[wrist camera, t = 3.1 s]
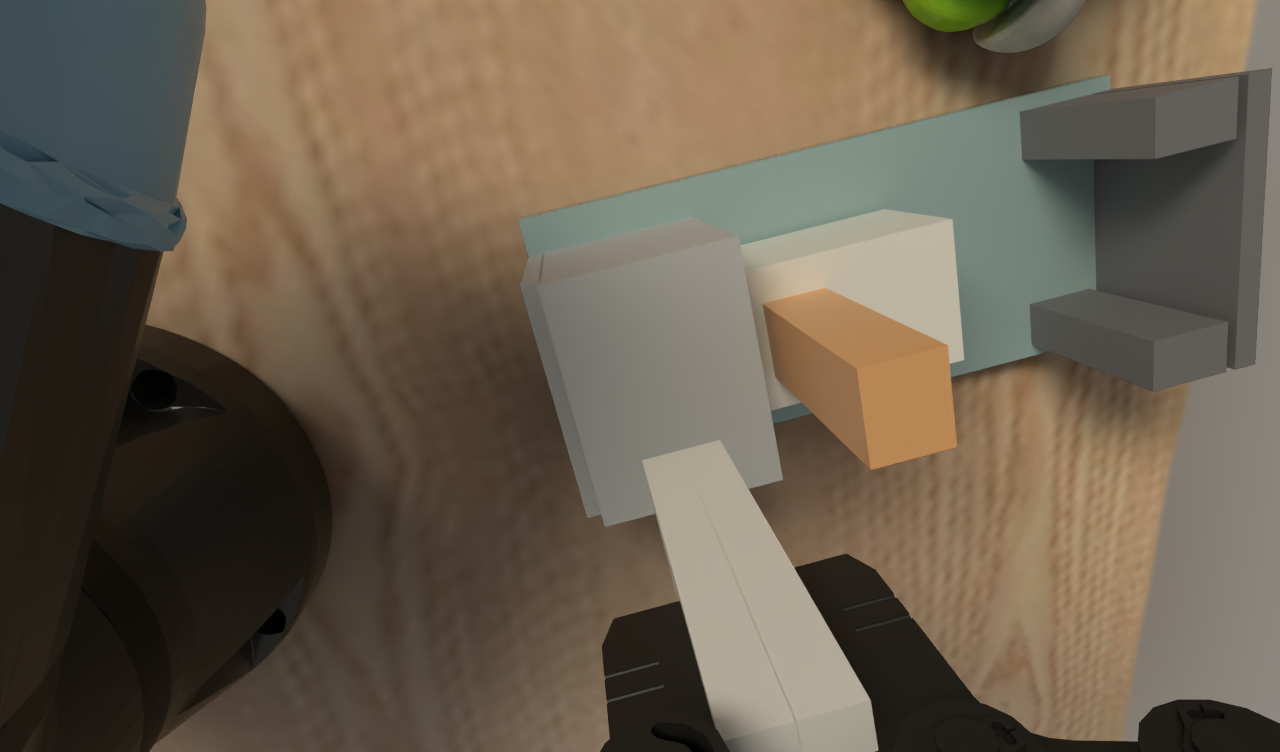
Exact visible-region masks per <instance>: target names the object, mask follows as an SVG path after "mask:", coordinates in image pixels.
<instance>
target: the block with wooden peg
mask: <svg viewBox="0 0 1280 752" xmlns="http://www.w3.org/2000/svg"><path fill="white" fill-rule="evenodd" d="M740 246H741V252H742V257H743V263H744V268H745V274H746V279H747V284H748V290H749V295H750V301H751V306H752V312H753V317H754V323H755V328H756V334H757V339H758V345H759V350H760V355H761V361H762V366H763V372H764V377H765V383H766V388H767V394H768V399H769V405H770V410H775V409H779V408H783V407H787V406H790V405H794V404H798V403H803V404H804V405H805V406H806V407H807V408H808V409H809V410H810V411H811V412H812V413H813V414H814V415H815V416H816V417H817V418H818V419H819V420H820V421H821V422H822V423H823V424H824V425H825V426H826V427H827V428H828V429H829V430H830V431H831V432H832V433H833V434H834V435H835V436H836V437H837V438H838V439H840V440H841V441H842V442H843V443H844V444H845V445H846V446H847V447H848V448H849V449H850V450H851V451H852V452H853V453H854V454H855V455H856V456H857V457H858V458H859V459H860V460H861V461H862V462H863V463H864V464H865V465H866V466H867V467H868V468H869V469H870V470H873V469H877V468H881V467H884V466H888V465H892V464H896V463H899V462H903V461H907V460H911V459H914V458H918V457H922V456H926V455H929V454H933V453H937V452H941V451H944V450H948V449H952V448H956V447H957V439H956V428H955V417H954V407H953V396H952V385H951V374H950V364H951V363H955V362H959V361H962V360H964V350H963V338H962V326H961V314H960V303H959V291H958V279H957V267H956V255H955V243H954V231H953V220H952V219H949V218H942V217H935V216H929V215H922V214H915V213H908V212H901V211H894V210H887V209H883V210H879V211H875V212H871V213H867V214H863V215H859V216H855V217H851V218H847V219H843V220H839V221H835V222H831V223H827V224H823V225H819V226H815V227H811V228H807V229H803V230H799V231H795V232H791V233H787V234H783V235H779V236H775V237H771V238H767V239H763V240H759V241H755V242H752V243H748V244H744V245H740Z"/></svg>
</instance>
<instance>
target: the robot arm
mask: <svg viewBox="0 0 1280 752" xmlns="http://www.w3.org/2000/svg"><path fill="white" fill-rule="evenodd" d="M205 22H206V2H205V0H0V752H149V751H150V750H151V748H152V747H153V746H154V744H156V743H157V742H158V741H160V740H161V739H162V738H164V737H165V736H166V735H167V734H169V733H170V732H171V731H173V730H174V729H175V728H177V727H178V726H179V725H181V724H182V723H183V722H185V721H186V720H187V719H189V718H190V717H191V716H193V715H194V714H195V713H196V712H198V711H199V710H200V709H202V708H203V707H204V706H206V705H207V704H208V703H210V702H211V701H212V700H214V699H215V698H216V697H218V696H219V695H220V694H221V693H223V692H224V691H225V690H227V689H228V688H229V687H231V686H232V685H233V684H235V683H236V682H237V681H239V680H240V679H241V678H243V677H244V676H245V675H246V674H248V673H249V672H250V671H252V670H253V669H254V668H255V667H257V666H258V665H259V664H260V663H261V662H262V661H263V660H264V659H266V658H267V657H268V656H269V655H270V653H271V652H272V651H273V650H274V649H275V648H276V647H277V646H278V645H279V644H280V642H281V641H282V640H283V639H284V638H285V636H286V635H287V634H288V633H289V631H290V630H291V628H292V627H293V625H294V624H295V622H296V621H297V619H298V617H299V615H300V614H301V612H302V610H303V608H304V607H305V605H306V603H307V601H308V600H309V598H310V596H311V594H312V593H313V591H314V589H315V587H316V585H317V583H318V581H319V579H320V577H321V575H322V572H323V569H324V566H325V563H326V560H327V556H328V552H329V547H330V541H331V529H332V513H331V503H330V497H329V492H328V487H327V483H326V479H325V476H324V473H323V470H322V467H321V465H320V462H319V460H318V458H317V455H316V453H315V451H314V449H313V447H312V445H311V443H310V442H309V440H308V438H307V436H306V435H305V433H304V432H303V430H302V429H301V427H300V426H299V424H298V423H297V421H296V420H295V419H294V417H293V416H292V415H291V414H290V412H289V411H288V410H287V409H286V408H285V406H284V405H283V404H282V403H281V402H280V401H279V400H278V399H277V398H276V397H275V396H274V395H273V394H272V393H271V392H270V391H269V390H268V389H267V388H266V387H265V386H264V385H263V384H261V383H260V382H259V381H258V380H257V379H256V378H254V377H253V376H252V375H250V374H249V373H248V372H246V371H245V370H244V369H242V368H241V367H240V366H238V365H236V364H235V363H233V362H232V361H230V360H229V359H227V358H226V357H224V356H222V355H220V354H219V353H217V352H215V351H213V350H211V349H209V348H207V347H205V346H203V345H201V344H199V343H197V342H195V341H192V340H190V339H188V338H185V337H183V336H180V335H177V334H175V333H172V332H169V331H166V330H163V329H159V328H155V327H152V326H148V325H145V324H146V320H147V316H148V311H149V307H150V303H151V299H152V295H153V291H154V287H155V283H156V279H157V275H158V271H159V267H160V263H161V259H162V255H163V251H173V250H174V246H175V245H177V244H178V243H179V242H180V240H181V237H182V235H183V233H184V231H185V229H186V222H187V218H186V216H185V213H184V210H183V208H182V205H181V203H180V202H179V200H178V199H177V198H176V196H177V190H178V184H179V178H180V172H181V167H182V161H183V155H184V149H185V143H186V137H187V132H188V126H189V120H190V114H191V108H192V102H193V96H194V91H195V85H196V79H197V74H198V68H199V63H200V57H201V52H202V46H203V41H204V35H205ZM642 462H643V466H644V470H645V474H646V478H647V482H648V486H649V490H650V494H651V498H652V502H653V506H654V510H655V514H656V517H657V521H658V525H659V529H660V533H661V537H662V541H663V545H664V549H665V553H666V557H667V561H668V565H669V569H670V573H671V577H672V581H673V584H674V588H675V592H676V596H677V599H678V602H674V603H670V604H667V605H663V606H659V607H656V608H652V609H648V610H644V611H641V612H637V613H633V614H630V615H626V616H622V617H618V618H615V619H613V622H612V624H611V626H610V629H609V631H608V633H607V636H606V638H605V640H604V643H603V645H602V653H603V665H604V675H605V688H606V699H607V703H608V704H607V711H608V722H609V733H610V739H609V740H608V741H607V742H606V743H605V744H604V746H603V748H602V749H601V751H600V752H1280V723H1277V722H1275V721H1273V720H1271V719H1269V718H1266V717H1264V716H1262V715H1260V714H1257V713H1255V712H1253V711H1251V710H1249V709H1247V708H1243V707H1239V706H1234V705H1230V704H1226V703H1222V702H1217V701H1213V700H1175V701H1172V702H1169V703H1166V704H1163V705H1160V706H1157V707H1154V708H1153V709H1152V710H1151V711H1150V712H1149V713H1148V714H1147V715H1146V716H1145V717H1144V718H1143V719H1142V720H1141V722H1140V723H1139V733H1138V742H1129V741H1073V740H1064V739H1054V738H1048V737H1044V736H1040V735H1037V734H1033V733H1030V732H1029V731H1028V730H1027V729H1026V728H1024V727H1023V726H1022V725H1021V724H1020V723H1019V722H1018V721H1016V720H1015V719H1014V718H1013V717H1012V716H1010V715H1008V714H1005V713H1003V712H1001V711H999V710H997V709H995V708H993V707H990V706H988V705H986V704H981V703H980V702H979V701H978V700H977V699H976V698H975V697H974V696H973V695H972V694H971V692H970V691H969V690H968V689H967V687H966V686H965V685H964V683H963V682H962V681H961V680H960V678H959V677H958V676H957V674H956V673H955V672H954V671H953V669H952V668H951V667H950V665H949V664H948V663H947V662H946V660H945V659H944V658H943V656H942V655H941V654H940V653H939V651H938V650H937V649H936V647H935V646H934V645H933V643H932V642H931V641H930V640H929V638H928V637H927V636H926V634H925V633H924V632H923V631H922V629H921V628H920V627H919V625H918V624H917V623H916V622H915V620H914V619H913V618H910V616H909V613H908V611H907V610H906V609H905V607H904V606H903V605H902V604H901V602H900V601H899V600H898V598H895V597H894V593H893V592H892V591H891V589H890V588H889V587H888V586H887V584H886V583H885V582H884V580H883V579H882V578H881V577H880V575H879V574H878V573H877V571H876V570H875V569H873V568H871V567H869V566H868V565H866V564H864V563H862V562H860V561H859V560H857V559H855V558H853V557H851V556H850V555H848V554H843V555H840V556H836V557H832V558H828V559H825V560H821V561H817V562H814V563H810V564H806V565H802V566H799V567H795V568H794V567H793V565H792V563H791V562H790V560H789V558H788V557H787V555H786V553H785V551H784V550H783V548H782V546H781V544H780V543H779V541H778V539H777V538H776V536H775V534H774V532H773V531H772V529H771V527H770V525H769V524H768V522H767V520H766V519H765V517H764V515H763V513H762V512H761V510H760V508H759V506H758V505H757V503H756V501H755V500H754V498H753V496H752V494H751V493H750V491H749V489H748V488H747V486H746V484H745V482H744V481H743V479H742V477H741V475H740V474H739V472H738V470H737V469H736V467H735V465H734V463H733V462H732V460H731V458H730V456H729V455H728V453H727V451H726V450H725V448H724V446H723V444H722V443H721V441H720V440H718V441H714V442H710V443H706V444H702V445H699V446H695V447H691V448H687V449H683V450H679V451H676V452H672V453H668V454H664V455H660V456H656V457H653V458H649V459H645V460H642Z"/></svg>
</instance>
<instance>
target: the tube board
mask: <svg viewBox="0 0 1280 752" xmlns="http://www.w3.org/2000/svg"><path fill="white" fill-rule="evenodd" d="M1271 77H1272V68H1269V69H1261V70H1254V71H1246V72H1238V73H1231V74H1223V75H1215V76H1208V77H1200V78H1193V79H1185V80H1177V81H1170V82H1162V83H1154V84H1147V85H1139V86H1132V87H1124V88H1116V89H1110V75H1105V76H1099V77H1093V78H1088V79H1084V80H1080V81H1076V82H1071V83H1067V84H1063V85H1059V86H1055V87H1051V88H1047V89H1043V90H1039V91H1035V92H1031V93H1027V94H1023V95H1019V96H1015V97H1011V98H1007V99H1003V100H998V101H994V102H990V103H986V104H982V105H978V106H974V107H970V108H966V109H962V110H958V111H954V112H950V113H946V114H942V115H938V116H934V117H930V118H925V119H921V120H917V121H913V122H909V123H905V124H901V125H897V126H893V127H889V128H885V129H881V130H877V131H873V132H869V133H865V134H861V135H857V136H852V137H848V138H844V139H840V140H836V141H832V142H828V143H824V144H820V145H816V146H812V147H808V148H804V149H800V150H796V151H792V152H788V153H784V154H779V155H775V156H771V157H767V158H763V159H759V160H755V161H751V162H747V163H743V164H739V165H735V166H731V167H727V168H723V169H719V170H715V171H711V172H707V173H702V174H698V175H694V176H690V177H686V178H682V179H678V180H674V181H670V182H666V183H662V184H658V185H654V186H650V187H646V188H642V189H638V190H634V191H629V192H625V193H621V194H617V195H613V196H609V197H605V198H601V199H597V200H593V201H589V202H585V203H581V204H577V205H573V206H569V207H565V208H561V209H556V210H552V211H548V212H544V213H540V214H536V215H532V216H528V217H524V218H520V219H519V220H518V222H519V225H520V229H521V233H522V236H523V240H524V243H525V247H526V250H527V254H528V260H527V264H526V267H525V270H524V274H523V277H522V281H521V284H520V288H521V291H522V295H523V298H524V301H525V305H526V308H527V312H528V315H529V319H530V322H531V326H532V329H533V333H534V336H535V339H536V343H537V346H538V350H539V353H540V357H541V360H542V364H543V367H544V371H545V374H546V377H547V381H548V384H549V388H550V391H551V395H552V398H553V402H554V405H555V408H556V412H557V415H558V419H559V422H560V426H561V429H562V433H563V436H564V440H565V443H566V446H567V450H568V453H569V457H570V460H571V464H572V467H573V471H574V474H575V477H576V481H577V484H578V488H579V491H580V495H581V498H582V502H583V505H584V509H585V512H586V515H587V518H591V517H595V516H598V515H602V519H603V522H604V526H605V527H608V526H612V525H615V524H619V523H623V522H627V521H630V520H634V519H638V518H642V517H645V516H649V515H653V514H655V510H654V506H653V502H652V498H651V494H650V490H649V486H648V482H647V478H646V474H645V470H644V466H643V462H642V460H645V459H649V458H653V457H656V456H660V455H664V454H668V453H672V452H676V451H679V450H683V449H687V448H691V447H695V446H699V445H702V444H706V443H710V442H714V441H718V440H720V441H721V443H722V444H723V446H724V448H725V450H726V451H727V453H728V455H729V456H730V458H731V460H732V462H733V463H734V465H735V467H736V469H737V470H738V472H739V474H740V475H741V477H742V479H743V481H744V482H745V484H746V486H747V488H748V489H751V488H754V487H758V486H762V485H766V484H770V483H773V482H777V481H781V480H783V476H782V470H781V465H780V459H779V454H778V448H777V443H776V437H775V432H774V427H773V424H775V423H779V422H783V421H787V420H790V419H794V418H798V417H802V416H806V415H809V414H813V413H812V412H811V411H810V410H809V409H808V408H807V407H806V406H805V405H804V404H803V403H798V404H794V405H790V406H787V407H783V408H779V409H775V410H770V405H769V399H768V394H767V388H766V383H765V377H764V372H763V366H762V361H761V355H760V350H759V345H758V339H757V334H756V328H755V323H754V317H753V312H752V306H751V301H750V295H749V290H748V284H747V279H746V274H745V268H744V263H743V257H742V252H741V246H740V245H744V244H748V243H752V242H755V241H759V240H763V239H767V238H771V237H775V236H779V235H783V234H787V233H791V232H795V231H799V230H803V229H807V228H811V227H815V226H819V225H823V224H827V223H831V222H835V221H839V220H843V219H847V218H851V217H855V216H859V215H863V214H867V213H871V212H875V211H879V210H883V209H887V210H894V211H901V212H908V213H915V214H922V215H929V216H935V217H942V218H949V219H952V220H953V231H954V243H955V255H956V267H957V279H958V291H959V303H960V314H961V326H962V338H963V350H964V360H962V361H959V362H955V363H951V364H950V374H951V377H954V376H958V375H962V374H966V373H969V372H973V371H977V370H981V369H985V368H988V367H992V366H996V365H1000V364H1004V363H1008V362H1011V361H1015V360H1019V359H1023V358H1027V357H1030V356H1034V355H1038V354H1042V353H1046V352H1049V351H1050V352H1052V353H1055V354H1058V355H1060V356H1063V357H1065V358H1068V359H1071V360H1073V361H1076V362H1078V363H1081V364H1084V365H1086V366H1089V367H1091V368H1094V369H1097V370H1099V371H1102V372H1104V373H1107V374H1110V375H1112V376H1115V377H1117V378H1120V379H1123V380H1125V381H1128V382H1130V383H1133V384H1136V385H1138V386H1141V387H1143V388H1146V389H1149V390H1151V391H1157V390H1160V389H1164V388H1168V387H1172V386H1175V385H1179V384H1183V383H1187V382H1190V381H1194V380H1198V379H1202V378H1205V377H1209V376H1213V375H1216V374H1220V373H1224V372H1226V367H1228V368H1232V369H1239V368H1243V367H1246V366H1250V365H1254V364H1255V357H1256V339H1257V323H1258V304H1259V288H1260V270H1261V252H1262V235H1263V216H1264V200H1265V182H1266V164H1267V147H1268V146H1267V145H1268V129H1269V112H1270V95H1271V94H1270V93H1271Z"/></svg>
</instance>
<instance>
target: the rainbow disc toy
mask: <svg viewBox="0 0 1280 752" xmlns="http://www.w3.org/2000/svg"><path fill="white" fill-rule="evenodd" d="M1085 1H1086V0H903V2H904V4H905V6H906V7H907V9H908V10H909V12H910V13H911V14H912V16H914V17H915V18H916V19H917V20H919V21H920V22H922V23H923V24H925V25H927V26H929V27H931V28H933V29H935V30H940V31H945V32H955V31H962V30H966V29H970V28H973V27H974V30H973V38H974V41H975V43H976V44H978V45H979V46H981V47H983V48H985V49H987V50H990V51H995V52H999V53H1015V52H1021V51H1026V50H1029V49H1033V48H1035V47H1038V46H1040V45H1042V44H1044V43H1045V42H1047V41H1049V40H1050V39H1052V38H1053V37H1055V36H1056V35H1057V34H1058V33H1060V32H1061V31H1062V30H1063V29H1064V28H1065V27H1066V26H1067V25H1068V24H1069V23H1070V22H1071V21H1072V20H1073V19H1074V18H1075V17H1076V15H1077V14H1078V13H1079V11H1080V10H1081V8H1082V7H1083V5H1084V3H1085Z"/></svg>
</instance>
